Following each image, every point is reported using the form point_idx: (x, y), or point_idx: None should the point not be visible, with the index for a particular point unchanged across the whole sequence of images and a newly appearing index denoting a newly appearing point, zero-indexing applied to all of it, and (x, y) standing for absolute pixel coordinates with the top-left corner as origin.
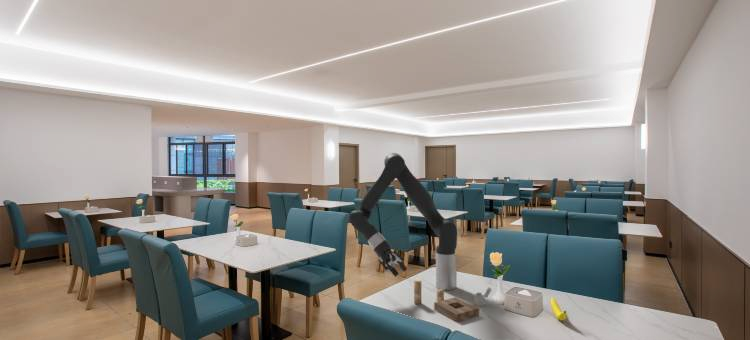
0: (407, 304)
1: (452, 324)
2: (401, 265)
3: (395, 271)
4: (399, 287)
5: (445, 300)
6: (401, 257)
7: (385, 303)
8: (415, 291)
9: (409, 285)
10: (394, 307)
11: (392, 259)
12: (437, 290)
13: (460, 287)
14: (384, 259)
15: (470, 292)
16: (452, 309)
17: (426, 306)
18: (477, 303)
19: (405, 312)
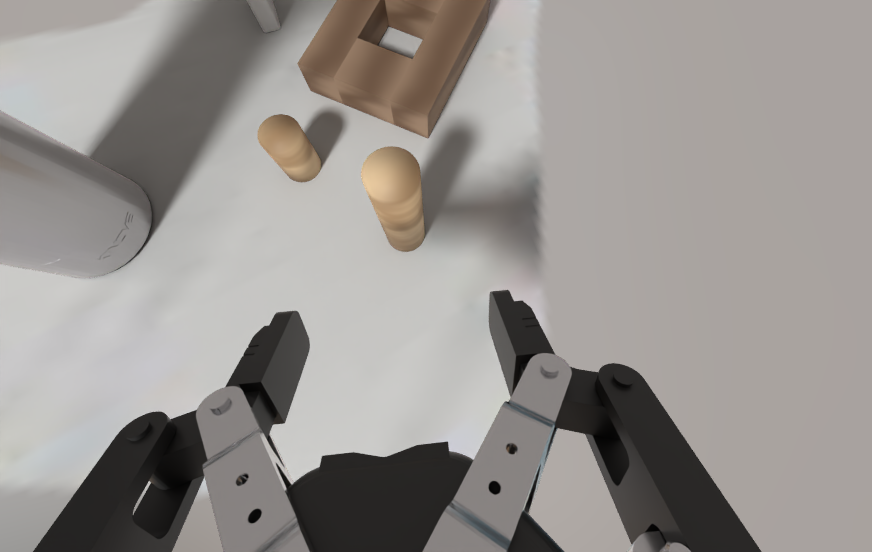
0: (449, 268)
1: (515, 27)
2: (281, 382)
3: (518, 318)
4: None
5: (369, 85)
6: (113, 468)
7: None
8: (421, 209)
9: None
10: (524, 301)
11: (422, 481)
12: (291, 144)
13: None
14: (721, 536)
15: (123, 93)
16: (453, 20)
17: None
18: (273, 8)
19: (539, 225)
